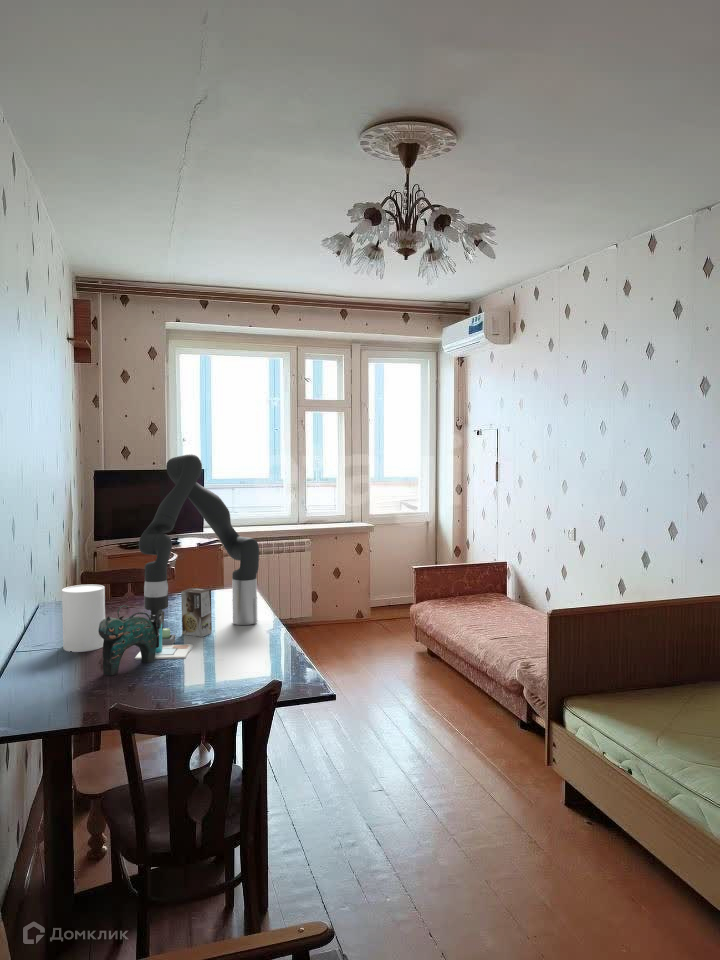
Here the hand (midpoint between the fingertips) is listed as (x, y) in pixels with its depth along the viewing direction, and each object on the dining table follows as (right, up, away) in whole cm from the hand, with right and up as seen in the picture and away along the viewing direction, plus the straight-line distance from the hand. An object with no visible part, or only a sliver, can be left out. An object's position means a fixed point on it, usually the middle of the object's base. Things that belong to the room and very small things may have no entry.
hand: (156, 645), depth 233 cm
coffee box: (+7, -2, +25) cm, 26 cm away
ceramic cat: (-5, -4, -14) cm, 16 cm away
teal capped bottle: (0, -2, 0) cm, 2 cm away
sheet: (+2, -3, +1) cm, 4 cm away
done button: (-1, 0, +12) cm, 12 cm away
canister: (-28, -3, +9) cm, 29 cm away
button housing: (-1, -2, +12) cm, 12 cm away
